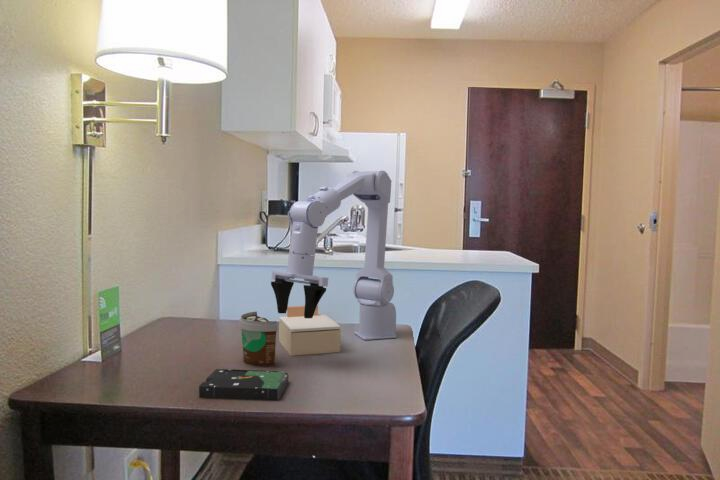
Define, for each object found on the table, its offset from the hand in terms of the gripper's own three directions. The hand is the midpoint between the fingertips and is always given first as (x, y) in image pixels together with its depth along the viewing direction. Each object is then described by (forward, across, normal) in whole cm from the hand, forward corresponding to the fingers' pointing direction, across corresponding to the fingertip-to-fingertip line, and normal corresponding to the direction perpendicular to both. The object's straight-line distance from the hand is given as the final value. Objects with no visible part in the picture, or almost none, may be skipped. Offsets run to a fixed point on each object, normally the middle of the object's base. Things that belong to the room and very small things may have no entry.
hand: (294, 315), depth 119 cm
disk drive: (+14, +4, -16) cm, 22 cm away
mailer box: (+9, -6, +14) cm, 17 cm away
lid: (+3, -6, +13) cm, 15 cm away
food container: (+12, -8, -3) cm, 14 cm away
